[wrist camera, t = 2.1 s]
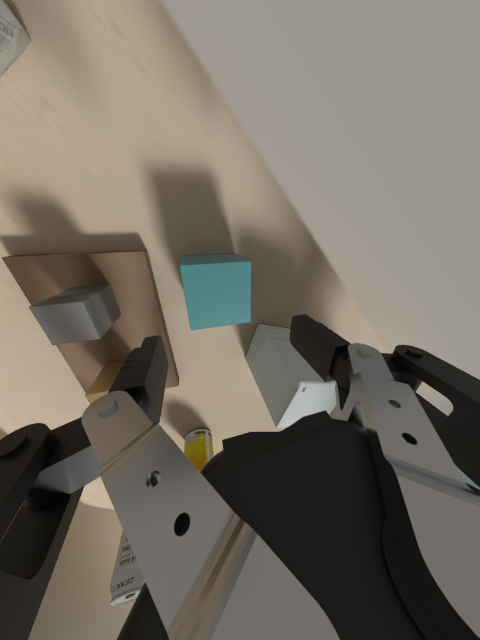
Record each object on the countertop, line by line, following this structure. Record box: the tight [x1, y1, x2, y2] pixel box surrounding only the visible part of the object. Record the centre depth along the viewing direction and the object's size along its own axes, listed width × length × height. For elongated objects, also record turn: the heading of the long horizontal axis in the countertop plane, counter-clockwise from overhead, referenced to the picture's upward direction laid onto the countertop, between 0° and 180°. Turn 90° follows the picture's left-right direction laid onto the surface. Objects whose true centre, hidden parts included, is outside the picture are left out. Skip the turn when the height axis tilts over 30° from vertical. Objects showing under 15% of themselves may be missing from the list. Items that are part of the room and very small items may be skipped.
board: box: [2, 250, 179, 393], centre depth 20 cm, size 12×20×7 cm, turn 1°
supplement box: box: [246, 324, 336, 428], centre depth 25 cm, size 7×7×13 cm
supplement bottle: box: [184, 429, 214, 472], centre depth 32 cm, size 6×6×10 cm
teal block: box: [180, 254, 251, 330], centre depth 20 cm, size 6×6×7 cm
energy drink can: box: [110, 530, 145, 606], centre depth 32 cm, size 6×6×15 cm
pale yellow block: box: [85, 358, 126, 404], centre depth 21 cm, size 4×4×6 cm
